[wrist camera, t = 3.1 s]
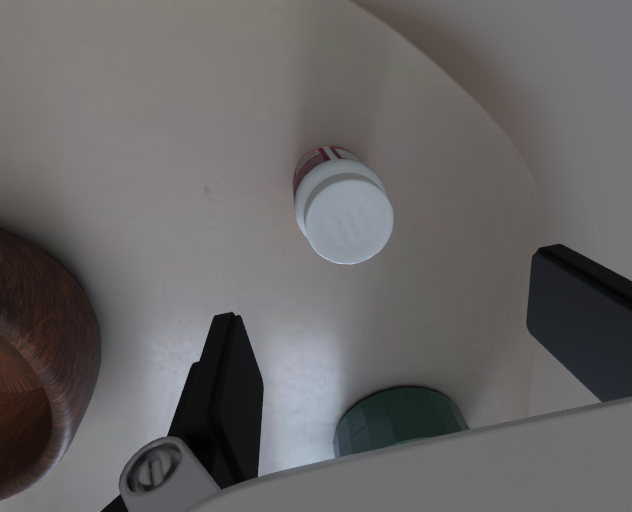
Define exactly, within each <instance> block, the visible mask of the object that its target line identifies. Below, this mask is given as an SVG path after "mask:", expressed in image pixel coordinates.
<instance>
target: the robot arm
mask: <svg viewBox="0 0 632 512" xmlns="http://www.w3.org/2000/svg"><path fill="white" fill-rule="evenodd" d="M526 324H527V328H528V331H529V332H530V334H531V335H532V336H533V337H534V338H535V339H536V340H537V341H538V342H540V343H541V344H542V345H543V346H544V347H545V348H546V349H547V350H548V351H549V352H550V353H551V354H552V355H553V356H554V357H555V358H556V359H557V360H558V361H559V362H560V363H561V364H563V365H564V366H565V367H566V368H567V369H568V370H569V371H570V372H571V373H572V374H573V375H574V376H575V377H576V378H577V379H578V380H579V381H580V382H581V383H582V384H583V385H584V386H586V387H587V388H588V389H589V390H590V391H591V392H592V393H593V394H594V395H595V396H596V397H597V398H598V399H599V400H600V401H601V402H602V403H597V404H592V405H587V406H582V407H578V408H572V409H567V410H562V411H557V412H552V413H548V414H543V415H538V416H533V417H528V418H523V419H518V420H514V421H509V422H504V423H499V424H494V425H489V426H485V427H480V428H475V429H470V430H465V431H461V432H456V433H451V434H446V435H442V436H437V437H432V438H427V439H423V440H418V441H413V442H409V443H404V444H399V445H395V446H390V447H385V448H381V449H376V450H371V451H367V452H362V453H357V454H353V455H348V456H343V457H339V458H334V459H330V460H326V461H321V462H317V463H313V464H308V465H304V466H300V467H296V468H291V469H287V470H283V471H278V472H275V473H271V474H268V475H264V476H261V477H258V465H259V450H260V436H261V421H262V406H263V391H264V387H263V380H262V376H261V373H260V371H259V368H258V365H257V362H256V359H255V356H254V353H253V350H252V347H251V344H250V341H249V338H248V335H247V332H246V329H245V326H244V323H243V320H242V318H241V316H240V315H237V316H235V314H234V313H233V312H229V313H224V314H219V315H215V316H214V317H213V320H212V323H211V326H210V330H209V333H208V336H207V339H206V342H205V345H204V348H203V352H202V355H201V358H200V361H199V362H195V363H193V364H192V366H191V368H190V371H189V374H188V377H187V380H186V383H185V385H184V388H183V391H182V394H181V397H180V400H179V403H178V406H177V409H176V412H175V415H174V417H173V420H172V423H171V426H170V429H169V432H168V435H167V437H161V438H159V439H156V440H154V441H151V442H150V443H148V444H147V445H145V446H143V447H142V448H141V449H140V450H139V451H138V452H136V453H135V454H134V455H133V456H132V458H131V459H130V460H129V461H128V463H127V464H126V465H125V467H124V469H123V471H122V473H121V475H120V480H119V490H120V495H119V496H118V497H116V498H115V499H114V500H113V501H112V502H111V503H110V504H108V505H107V506H106V507H105V508H104V509H103V510H102V511H101V512H632V281H630V280H629V279H627V278H625V277H623V276H621V275H619V274H617V273H615V272H613V271H612V270H610V269H608V268H606V267H604V266H602V265H600V264H598V263H596V262H594V261H593V260H591V259H589V258H587V257H585V256H583V255H581V254H579V253H577V252H575V251H573V250H571V249H570V248H568V247H566V246H564V245H562V244H556V245H551V246H546V247H541V248H539V249H538V250H537V252H536V253H535V254H534V255H533V256H532V263H531V275H530V286H529V298H528V310H527V321H526Z"/></svg>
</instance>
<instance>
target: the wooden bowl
mask: <svg viewBox="0 0 632 512" xmlns="http://www.w3.org/2000/svg"><path fill="white" fill-rule="evenodd" d="M100 361H101V338H100V331H99V327H98V323H97V319H96V315H95V313H94V310H93V308H92V306H91V304H90V302H89V300H88V298H87V296H86V295H85V293H84V291H83V290H82V288H81V287H80V286H79V285H78V283H77V282H76V281H75V280H74V278H73V277H72V276H71V275H70V274H69V273H68V272H67V271H66V270H65V269H64V268H63V267H62V266H61V265H60V264H59V263H58V262H56V261H55V260H54V259H53V258H51V257H50V256H49V255H47V254H46V253H45V252H43V251H42V250H40V249H39V248H37V247H36V246H34V245H32V244H31V243H29V242H27V241H26V240H24V239H22V238H20V237H18V236H16V235H14V234H11V233H9V232H7V231H4V230H2V229H0V501H1V500H4V499H7V498H10V497H12V496H14V495H17V494H19V493H21V492H23V491H25V490H27V489H29V488H30V487H32V486H33V485H35V484H36V483H38V482H39V481H41V480H42V479H43V478H44V477H45V476H46V475H47V474H49V473H50V472H51V470H52V469H53V468H54V467H55V466H56V465H57V464H58V463H59V462H60V460H61V459H62V458H63V456H64V454H65V453H66V451H67V449H68V448H69V446H70V444H71V442H72V440H73V438H74V436H75V434H76V432H77V429H78V427H79V425H80V423H81V421H82V418H83V416H84V414H85V412H86V409H87V407H88V405H89V402H90V400H91V397H92V395H93V391H94V388H95V385H96V382H97V378H98V373H99V368H100Z"/></svg>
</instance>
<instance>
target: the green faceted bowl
mask: <svg viewBox="0 0 632 512" xmlns="http://www.w3.org/2000/svg"><path fill="white" fill-rule="evenodd" d="M465 430H470V429H469V427H468V425H467V423H466V421H465V420H464V418H463V416H462V414H461V412H460V410H459V409H458V407H457V405H456V404H455V403H454V402H452V401H451V400H450V399H448V398H447V397H446V396H445V395H443V394H441V393H438V392H434V391H431V390H428V389H425V388H399V389H394V390H389V391H384V392H380V393H378V394H376V395H374V396H372V397H369V398H367V399H365V400H363V401H361V402H360V403H359V404H357V405H356V406H355V407H354V408H352V409H351V410H350V411H349V412H348V413H347V414H346V415H345V416H344V418H343V419H342V421H341V422H340V424H339V425H338V427H337V428H336V433H335V438H334V442H333V444H334V452H335V458H339V457H343V456H348V455H353V454H357V453H362V452H367V451H371V450H376V449H381V448H385V447H390V446H395V445H399V444H404V443H409V442H413V441H418V440H423V439H427V438H432V437H437V436H442V435H446V434H451V433H456V432H461V431H465Z"/></svg>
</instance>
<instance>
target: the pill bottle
mask: <svg viewBox="0 0 632 512" xmlns="http://www.w3.org/2000/svg"><path fill="white" fill-rule="evenodd" d="M293 193H294V211H295V216H296V220H297V223H298V225H299V227H300V229H301V231H302V232H303V234H304V235H305V236H306V237H307V238H308V240H309V242H310V244H311V246H312V247H313V249H314V250H315V251H316V252H317V253H318V254H319V255H320V256H322V257H323V258H325V259H327V260H329V261H331V262H335V263H339V264H354V263H359V262H362V261H365V260H367V259H369V258H371V257H372V256H374V255H375V254H377V253H378V252H379V251H380V250H381V249H382V248H383V247H384V245H385V244H386V243H387V241H388V239H389V237H390V235H391V232H392V229H393V223H394V215H393V209H392V206H391V203H390V201H389V199H388V197H387V196H386V191H385V188H384V186H383V184H382V182H381V180H380V179H379V177H378V176H377V175H376V174H375V172H374V171H373V170H372V169H371V168H369V167H368V166H367V165H365V164H364V163H363V162H362V161H361V160H360V159H358V158H357V157H356V156H355V155H354V154H352V153H351V152H349V151H348V150H346V149H344V148H341V147H337V146H323V147H319V148H316V149H314V150H312V151H311V152H309V153H308V154H306V155H305V156H304V157H303V158H302V160H301V161H300V162H299V164H298V166H297V168H296V170H295V173H294V178H293Z"/></svg>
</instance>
